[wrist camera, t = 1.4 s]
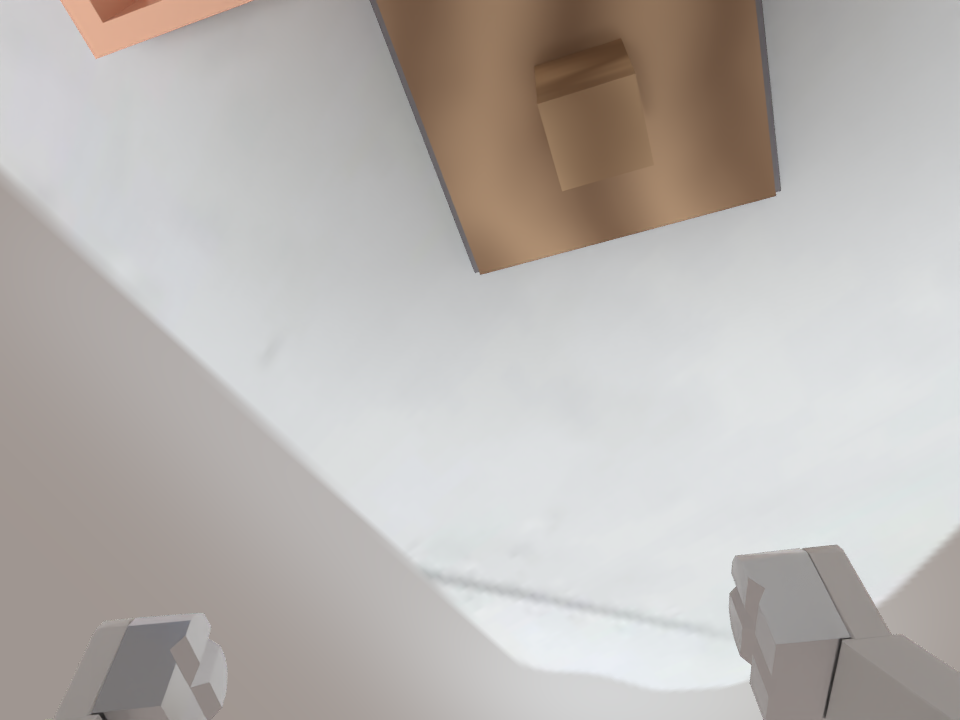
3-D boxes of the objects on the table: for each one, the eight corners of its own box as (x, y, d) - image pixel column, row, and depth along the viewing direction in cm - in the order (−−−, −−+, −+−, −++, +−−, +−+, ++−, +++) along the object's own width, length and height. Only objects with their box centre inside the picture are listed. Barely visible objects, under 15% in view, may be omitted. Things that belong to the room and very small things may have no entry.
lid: (730, -162, 28) (772, -147, 23) (768, 184, 36) (805, 244, 31) (371, -31, 31) (348, 5, 26) (481, 262, 39) (477, 326, 34)
